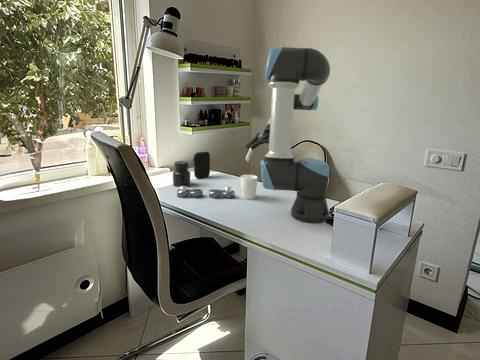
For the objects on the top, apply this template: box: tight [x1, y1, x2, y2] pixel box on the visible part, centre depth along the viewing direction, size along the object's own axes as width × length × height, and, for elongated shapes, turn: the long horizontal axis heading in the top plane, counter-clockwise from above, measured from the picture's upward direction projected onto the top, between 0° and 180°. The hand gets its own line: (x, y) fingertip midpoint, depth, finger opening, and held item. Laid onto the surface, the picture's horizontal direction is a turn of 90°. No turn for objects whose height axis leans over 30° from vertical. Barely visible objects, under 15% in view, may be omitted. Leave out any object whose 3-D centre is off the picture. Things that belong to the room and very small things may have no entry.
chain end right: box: [208, 186, 236, 200], centre depth 150 cm, size 6×12×4 cm, turn 91°
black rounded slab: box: [192, 151, 211, 179], centre depth 179 cm, size 11×3×15 cm, turn 127°
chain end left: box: [176, 186, 204, 199], centre depth 150 cm, size 6×12×4 cm, turn 91°
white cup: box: [240, 174, 258, 200], centre depth 150 cm, size 8×8×10 cm
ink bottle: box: [172, 160, 191, 188], centre depth 166 cm, size 10×9×12 cm
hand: (259, 162), depth 156 cm, fingers open, 13 cm apart
